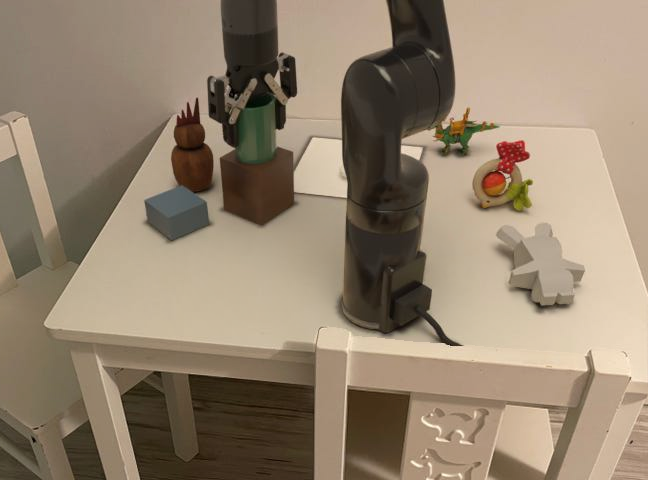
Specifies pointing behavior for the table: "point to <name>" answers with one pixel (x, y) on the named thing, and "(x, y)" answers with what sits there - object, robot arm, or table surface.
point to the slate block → (176, 212)
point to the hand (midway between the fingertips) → (255, 136)
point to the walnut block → (258, 186)
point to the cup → (257, 131)
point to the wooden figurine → (191, 152)
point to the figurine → (460, 132)
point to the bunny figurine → (541, 265)
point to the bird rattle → (503, 178)
